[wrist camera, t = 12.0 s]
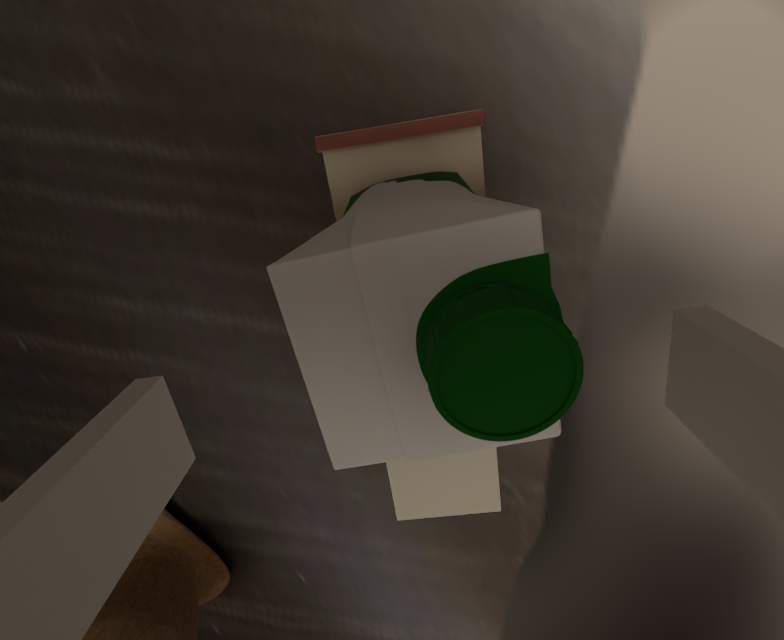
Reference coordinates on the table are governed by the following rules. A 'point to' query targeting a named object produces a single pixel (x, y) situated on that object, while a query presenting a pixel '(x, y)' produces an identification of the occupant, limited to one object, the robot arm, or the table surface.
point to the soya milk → (428, 324)
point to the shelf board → (403, 153)
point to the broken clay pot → (162, 587)
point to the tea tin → (446, 485)
